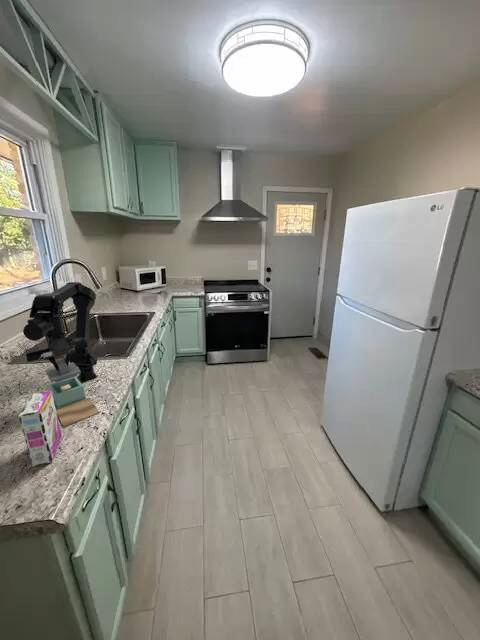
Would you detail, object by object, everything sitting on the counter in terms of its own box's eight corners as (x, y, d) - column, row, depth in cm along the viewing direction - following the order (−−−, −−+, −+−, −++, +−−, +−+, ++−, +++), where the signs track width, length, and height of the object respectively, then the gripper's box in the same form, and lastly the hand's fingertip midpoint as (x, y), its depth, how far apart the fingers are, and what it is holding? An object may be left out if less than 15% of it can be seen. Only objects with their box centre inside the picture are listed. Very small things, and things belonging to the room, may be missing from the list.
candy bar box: (53, 462, 74) (40, 412, 69) (32, 467, 72) (16, 416, 67) (63, 435, 84) (52, 389, 79) (44, 439, 82) (32, 393, 77)
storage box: (52, 397, 103) (49, 384, 102) (78, 388, 109) (75, 376, 108) (58, 408, 97) (54, 395, 95) (85, 398, 103) (83, 385, 101)
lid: (45, 374, 100) (42, 361, 99) (74, 366, 107) (71, 354, 105) (51, 385, 93) (48, 371, 92) (81, 376, 99) (79, 362, 98)
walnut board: (55, 411, 95) (55, 410, 95) (89, 398, 103) (89, 397, 102) (63, 427, 87) (63, 426, 87) (99, 412, 94) (99, 411, 94)
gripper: (23, 343, 83) (35, 387, 87) (89, 329, 95) (96, 368, 100) (19, 334, 90) (29, 375, 95) (80, 322, 103) (87, 359, 108)
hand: (62, 369), depth 99 cm, fingers closed on lid, 2 cm apart
